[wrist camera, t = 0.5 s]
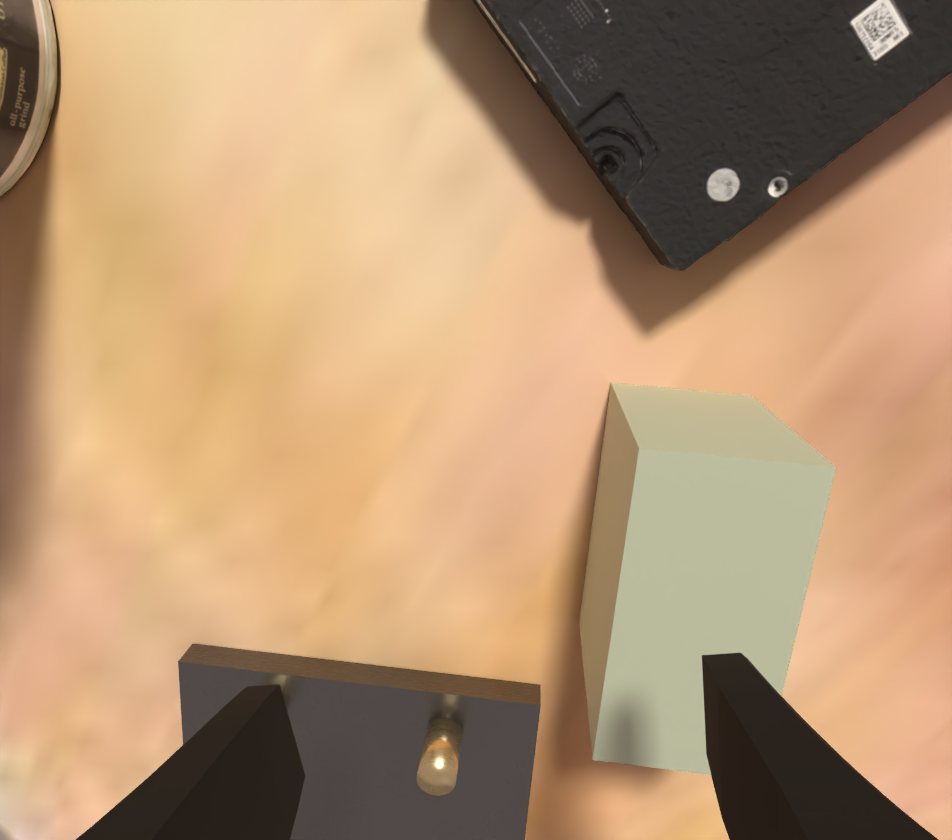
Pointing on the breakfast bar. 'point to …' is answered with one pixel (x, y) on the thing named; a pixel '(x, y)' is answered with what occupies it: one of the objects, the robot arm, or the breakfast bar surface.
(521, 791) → the plate
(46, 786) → the breakfast bar surface
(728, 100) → the disk drive
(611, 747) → the block
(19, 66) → the coffee can
